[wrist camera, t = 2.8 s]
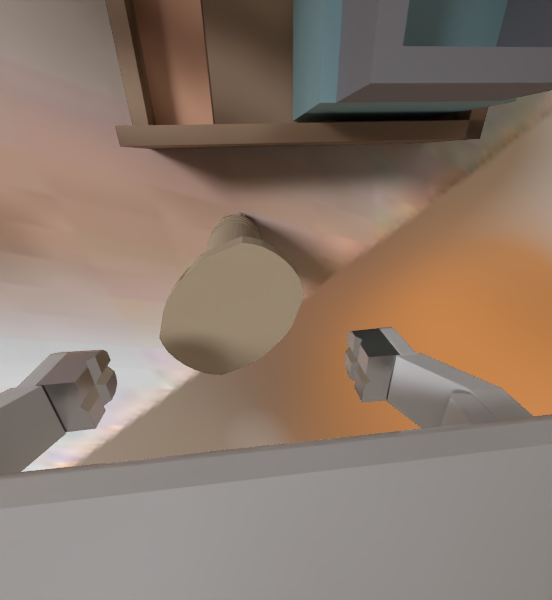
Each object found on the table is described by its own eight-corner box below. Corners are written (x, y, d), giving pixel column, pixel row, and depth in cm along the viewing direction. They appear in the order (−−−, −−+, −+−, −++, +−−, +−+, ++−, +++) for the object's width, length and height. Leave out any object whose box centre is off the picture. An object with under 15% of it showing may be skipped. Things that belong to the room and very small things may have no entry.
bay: (96, -121, 15) (20, -266, 10) (472, -100, 17) (574, -215, 12) (150, 148, 21) (120, 146, 16) (425, 142, 23) (479, 138, 18)
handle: (281, 221, 25) (326, 296, 12) (235, 272, 27) (228, 389, 13) (239, 181, 23) (234, 216, 10) (192, 239, 25) (135, 336, 12)
